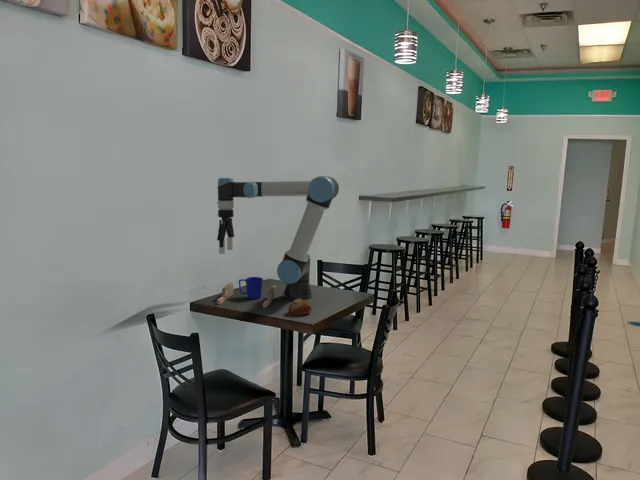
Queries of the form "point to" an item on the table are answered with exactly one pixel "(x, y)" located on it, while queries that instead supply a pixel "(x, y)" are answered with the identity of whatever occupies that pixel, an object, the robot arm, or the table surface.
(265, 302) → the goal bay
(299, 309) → the bread roll
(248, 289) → the mug
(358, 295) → the table surface
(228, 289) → the tunnel walls
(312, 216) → the robot arm
